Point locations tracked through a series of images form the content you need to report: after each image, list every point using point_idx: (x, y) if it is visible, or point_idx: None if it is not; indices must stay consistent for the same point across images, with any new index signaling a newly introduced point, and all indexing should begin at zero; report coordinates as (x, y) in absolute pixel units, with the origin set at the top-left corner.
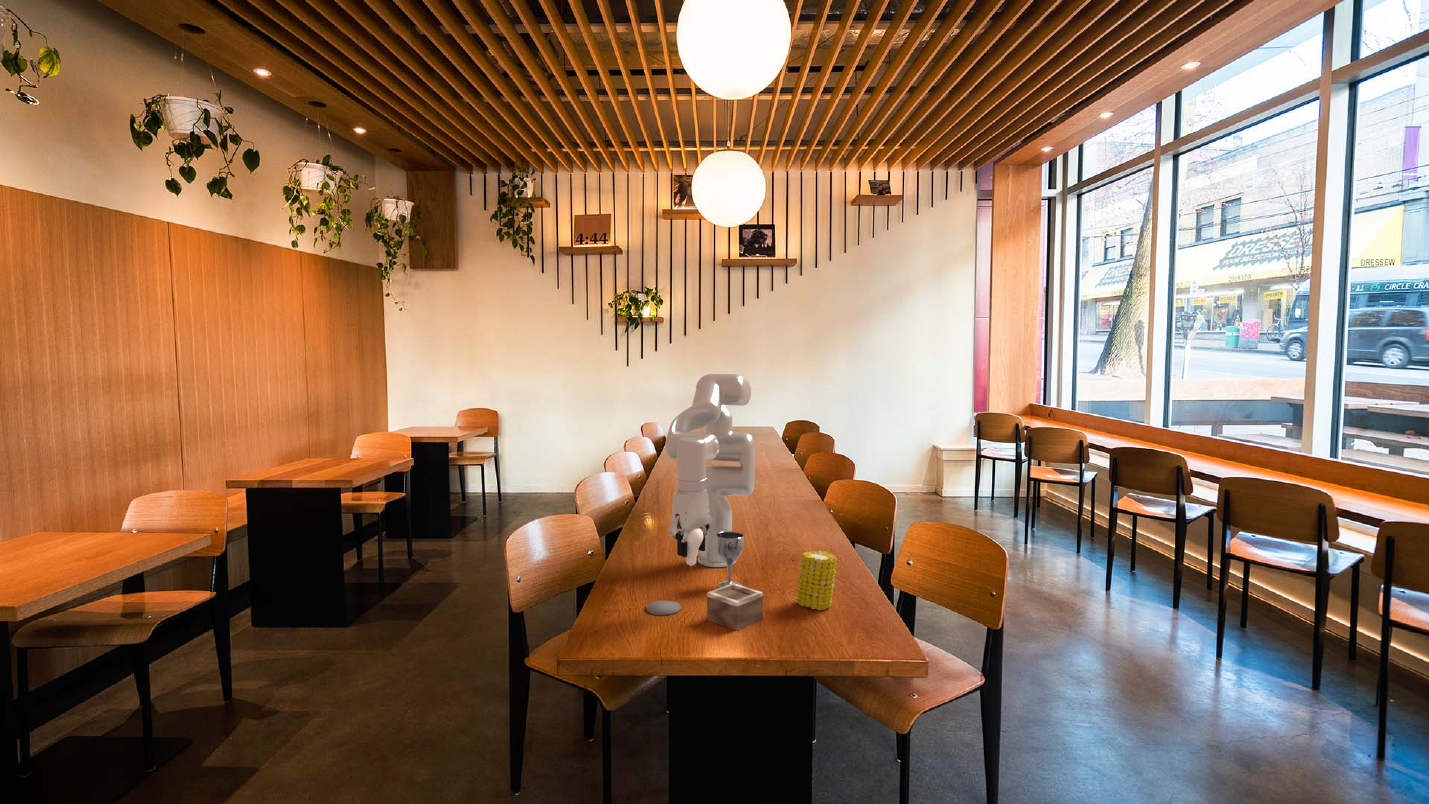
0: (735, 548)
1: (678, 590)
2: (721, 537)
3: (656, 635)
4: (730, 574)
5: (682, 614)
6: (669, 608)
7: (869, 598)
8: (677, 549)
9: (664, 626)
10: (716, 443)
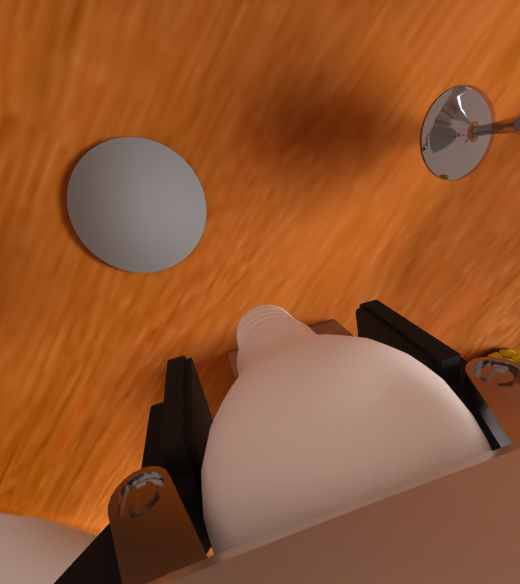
0: None
1: (291, 54)
2: None
3: (26, 392)
4: (495, 133)
5: (181, 285)
6: (154, 236)
7: None
8: (148, 421)
9: (80, 344)
10: None
